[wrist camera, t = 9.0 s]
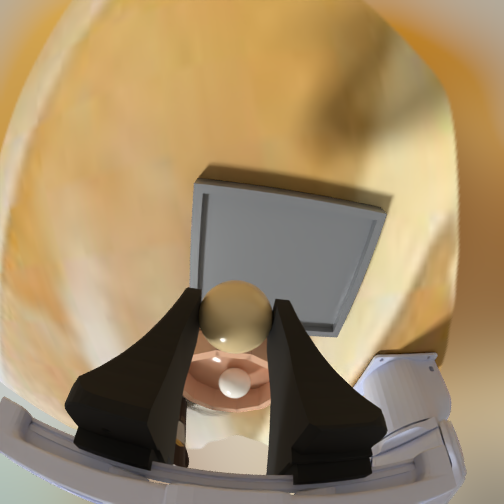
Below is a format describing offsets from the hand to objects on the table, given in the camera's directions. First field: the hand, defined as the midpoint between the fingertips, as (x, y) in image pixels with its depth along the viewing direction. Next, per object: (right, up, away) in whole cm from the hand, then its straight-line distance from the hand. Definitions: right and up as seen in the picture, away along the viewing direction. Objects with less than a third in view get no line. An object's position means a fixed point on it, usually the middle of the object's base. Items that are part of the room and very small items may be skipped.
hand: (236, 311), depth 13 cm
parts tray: (+3, +2, +9) cm, 10 cm away
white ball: (-1, -10, +15) cm, 18 cm away
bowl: (-2, -9, +15) cm, 18 cm away
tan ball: (0, +1, +1) cm, 1 cm away
